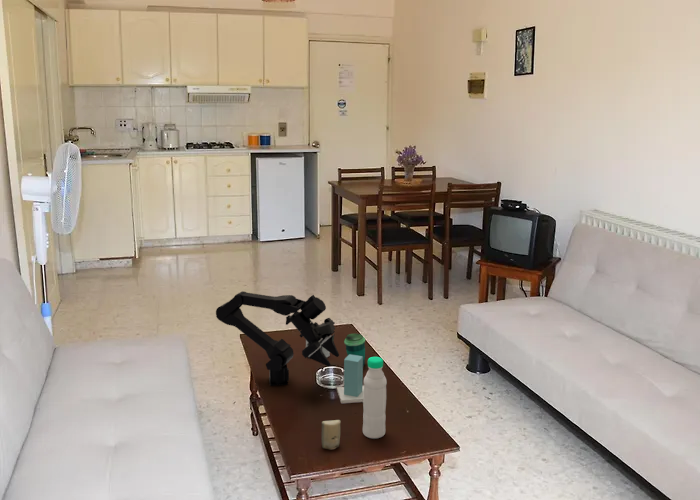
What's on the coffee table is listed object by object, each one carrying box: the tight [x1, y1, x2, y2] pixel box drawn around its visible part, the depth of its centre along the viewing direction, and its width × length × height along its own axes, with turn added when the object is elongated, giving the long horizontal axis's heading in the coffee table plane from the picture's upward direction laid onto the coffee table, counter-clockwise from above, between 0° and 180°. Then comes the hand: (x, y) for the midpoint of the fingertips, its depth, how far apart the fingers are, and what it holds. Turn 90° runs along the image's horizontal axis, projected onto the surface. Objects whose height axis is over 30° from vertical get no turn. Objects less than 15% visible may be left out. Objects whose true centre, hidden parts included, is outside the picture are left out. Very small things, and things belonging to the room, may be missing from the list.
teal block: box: [343, 354, 364, 397], centre depth 222 cm, size 5×5×13 cm
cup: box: [343, 333, 366, 367], centre depth 247 cm, size 8×8×12 cm
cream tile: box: [336, 384, 364, 404], centre depth 224 cm, size 10×10×1 cm
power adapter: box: [321, 419, 342, 450], centre depth 191 cm, size 6×5×8 cm
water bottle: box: [362, 356, 387, 440], centre depth 197 cm, size 7×7×25 cm
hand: (334, 360), depth 224 cm, fingers open, 9 cm apart
